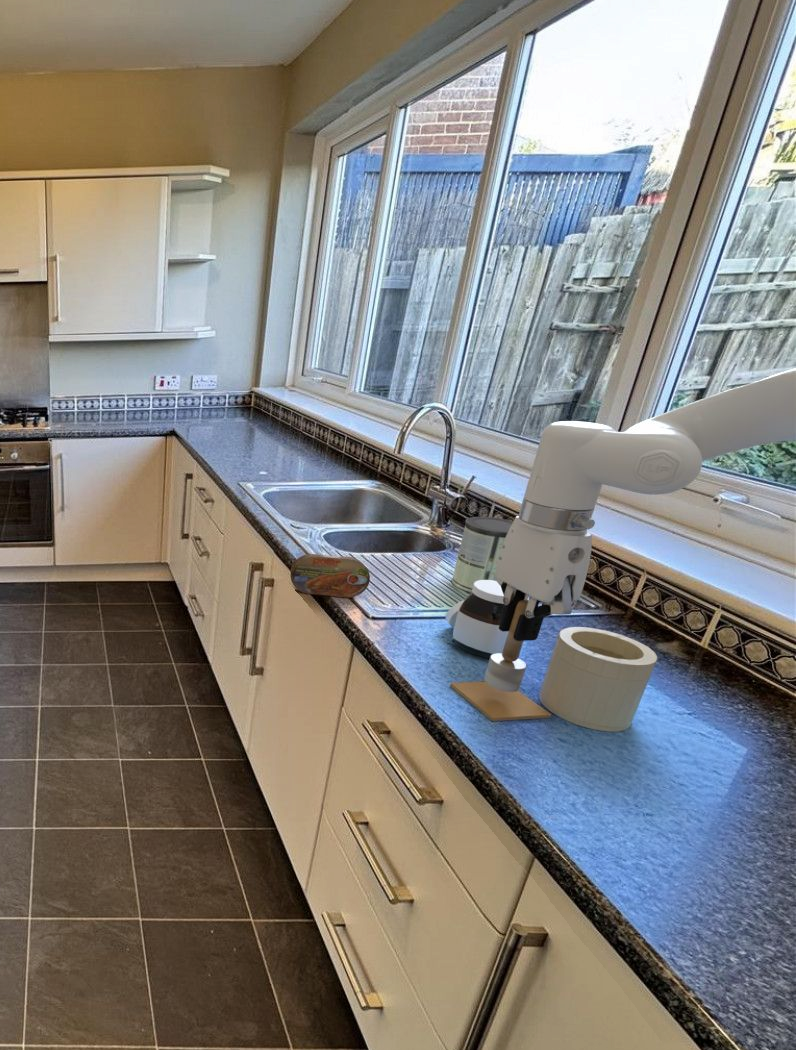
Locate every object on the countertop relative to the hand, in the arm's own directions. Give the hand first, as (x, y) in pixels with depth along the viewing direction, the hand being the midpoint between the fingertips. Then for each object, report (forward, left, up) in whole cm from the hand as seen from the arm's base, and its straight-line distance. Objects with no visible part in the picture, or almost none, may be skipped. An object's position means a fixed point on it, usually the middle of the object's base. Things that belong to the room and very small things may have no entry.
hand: (517, 634), depth 90 cm
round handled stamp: (0, 0, -9) cm, 9 cm away
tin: (+7, -39, -12) cm, 41 cm away
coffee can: (-27, -39, -12) cm, 49 cm away
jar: (-11, +3, -12) cm, 16 cm away
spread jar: (-9, -17, -12) cm, 23 cm away
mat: (0, 0, -12) cm, 12 cm away
